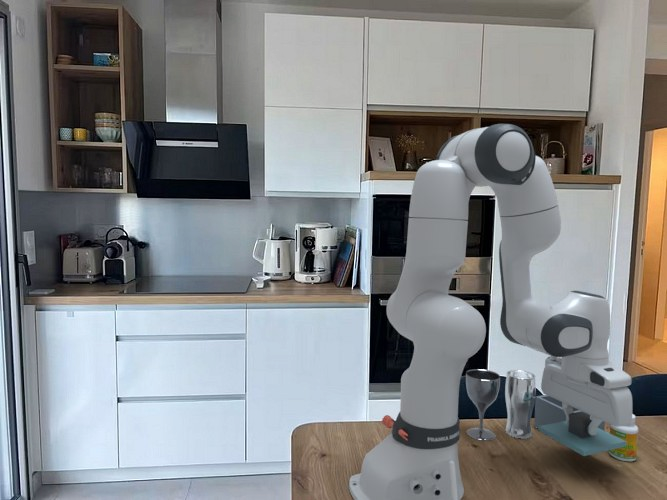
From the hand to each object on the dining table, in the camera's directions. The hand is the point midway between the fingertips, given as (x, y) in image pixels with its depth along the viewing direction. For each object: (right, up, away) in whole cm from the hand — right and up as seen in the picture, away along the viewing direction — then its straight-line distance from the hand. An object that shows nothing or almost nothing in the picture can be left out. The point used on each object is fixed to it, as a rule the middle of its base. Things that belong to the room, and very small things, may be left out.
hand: (580, 428), depth 102 cm
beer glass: (-8, -7, +15) cm, 18 cm away
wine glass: (-17, -7, +14) cm, 23 cm away
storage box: (+5, -7, +15) cm, 17 cm away
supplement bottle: (+12, -8, +4) cm, 15 cm away
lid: (0, -2, 0) cm, 2 cm away
